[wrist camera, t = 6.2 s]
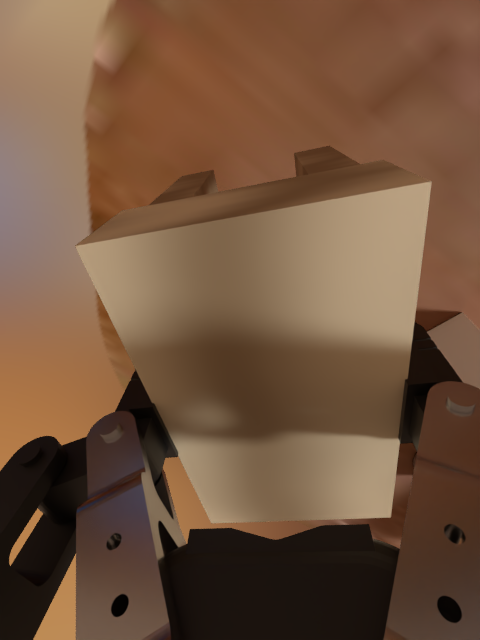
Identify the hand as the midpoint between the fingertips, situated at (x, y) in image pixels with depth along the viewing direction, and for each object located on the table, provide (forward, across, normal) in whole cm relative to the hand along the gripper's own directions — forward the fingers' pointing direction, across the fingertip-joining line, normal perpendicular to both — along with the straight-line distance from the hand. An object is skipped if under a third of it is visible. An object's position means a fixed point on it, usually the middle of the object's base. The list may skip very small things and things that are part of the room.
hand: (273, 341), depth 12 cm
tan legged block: (+5, 0, 0) cm, 5 cm away
